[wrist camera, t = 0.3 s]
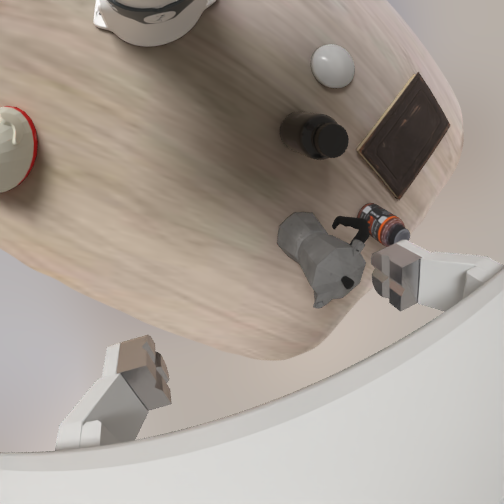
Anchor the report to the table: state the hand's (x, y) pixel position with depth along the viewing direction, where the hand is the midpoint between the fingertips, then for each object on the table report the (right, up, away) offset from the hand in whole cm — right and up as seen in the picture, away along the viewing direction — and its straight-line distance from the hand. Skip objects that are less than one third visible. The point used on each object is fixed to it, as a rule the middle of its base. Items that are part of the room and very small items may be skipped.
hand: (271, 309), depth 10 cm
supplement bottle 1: (+7, +22, +37) cm, 44 cm away
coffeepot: (+9, +6, +46) cm, 47 cm away
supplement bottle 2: (+23, +9, +49) cm, 55 cm away
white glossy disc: (+13, +33, +33) cm, 49 cm away
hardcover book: (+31, +26, +43) cm, 59 cm away
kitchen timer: (-40, +19, +24) cm, 50 cm away
